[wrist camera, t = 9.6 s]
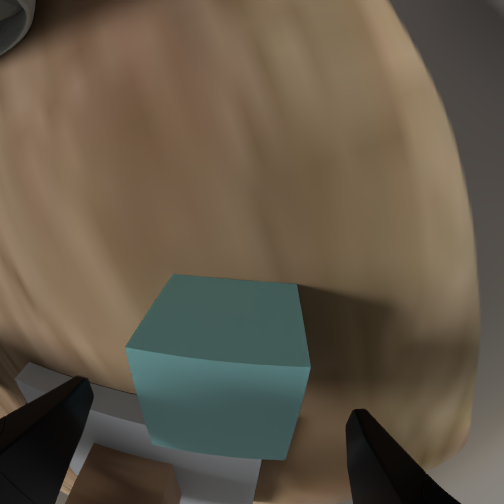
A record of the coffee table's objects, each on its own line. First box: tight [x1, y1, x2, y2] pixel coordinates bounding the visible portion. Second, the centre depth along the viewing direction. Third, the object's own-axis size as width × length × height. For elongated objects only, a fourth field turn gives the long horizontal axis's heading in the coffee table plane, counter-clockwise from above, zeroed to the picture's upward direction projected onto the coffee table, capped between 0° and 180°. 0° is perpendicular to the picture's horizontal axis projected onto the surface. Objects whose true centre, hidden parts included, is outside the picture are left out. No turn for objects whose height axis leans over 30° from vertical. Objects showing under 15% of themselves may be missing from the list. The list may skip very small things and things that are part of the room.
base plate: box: [15, 362, 262, 504], centre depth 16 cm, size 16×14×2 cm
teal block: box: [125, 274, 311, 460], centre depth 11 cm, size 5×5×5 cm
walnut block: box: [65, 443, 182, 504], centre depth 13 cm, size 6×6×6 cm
